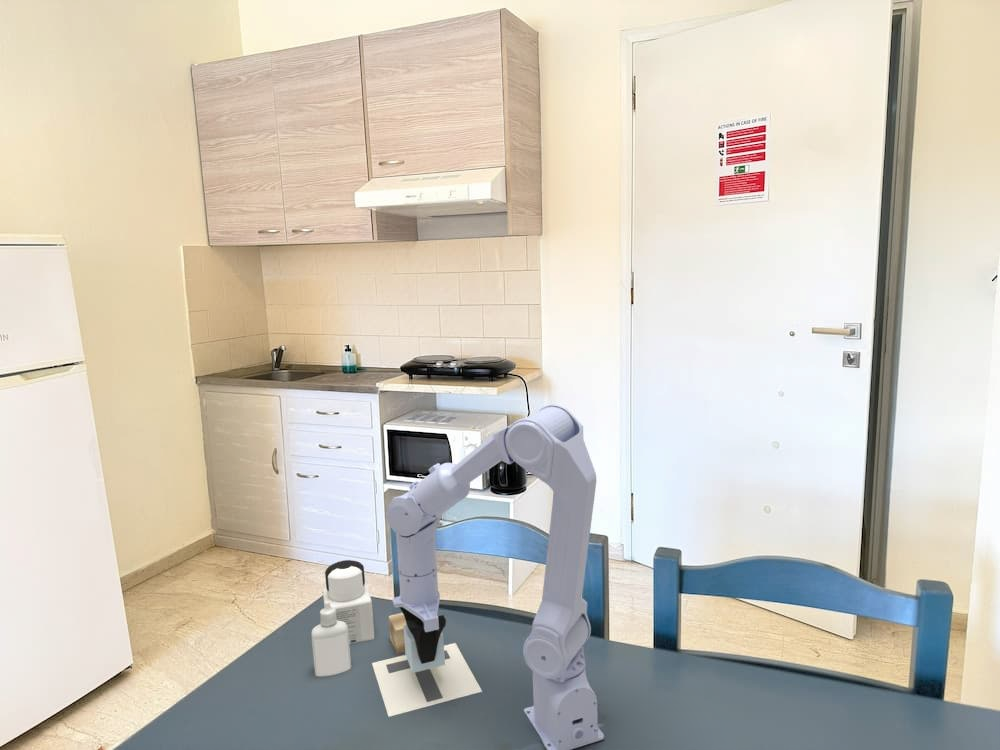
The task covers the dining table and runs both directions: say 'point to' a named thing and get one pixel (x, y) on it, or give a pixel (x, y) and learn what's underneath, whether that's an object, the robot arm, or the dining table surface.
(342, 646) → the eye dropper bottle
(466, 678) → the letter card
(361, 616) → the container
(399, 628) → the oak block
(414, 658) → the pale blue cube
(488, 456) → the robot arm
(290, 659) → the dining table surface
